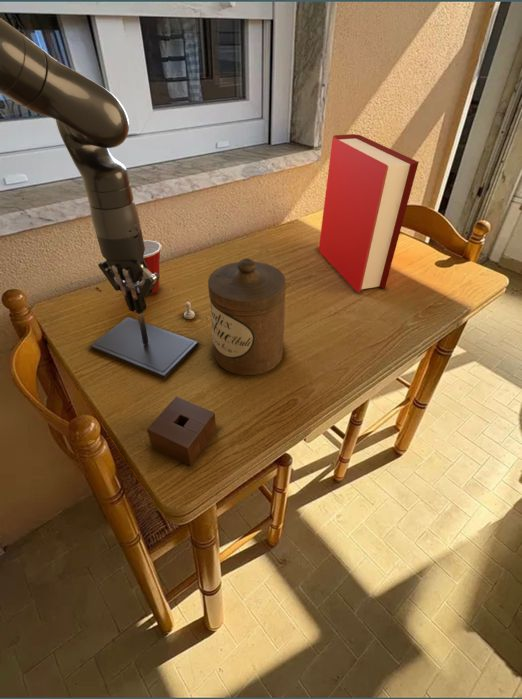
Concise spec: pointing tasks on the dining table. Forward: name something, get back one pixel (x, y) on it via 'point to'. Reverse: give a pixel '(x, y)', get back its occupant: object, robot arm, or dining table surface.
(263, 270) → the wooden container
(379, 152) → the book
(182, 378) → the dining table surface
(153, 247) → the plastic cup
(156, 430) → the stylus stand
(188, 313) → the pawn
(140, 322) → the stylus
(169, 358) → the plate
